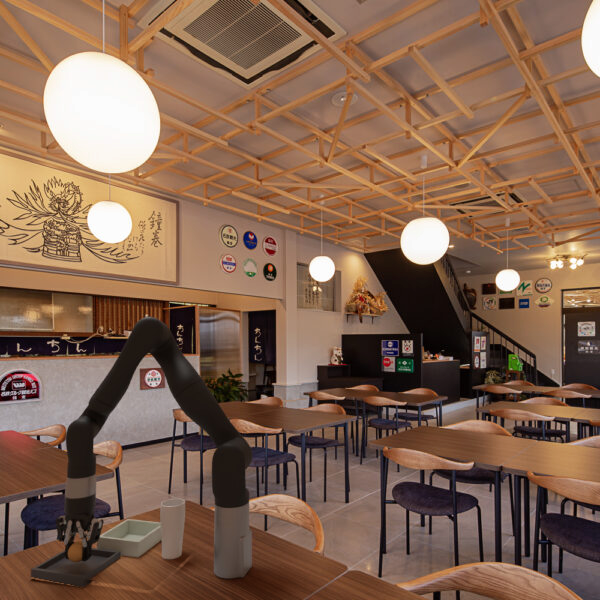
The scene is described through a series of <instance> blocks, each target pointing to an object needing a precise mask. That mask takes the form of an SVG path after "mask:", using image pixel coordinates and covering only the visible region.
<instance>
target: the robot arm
mask: <svg viewBox="0 0 600 600" xmlns="http://www.w3.org/2000/svg"><path fill="white" fill-rule="evenodd" d="M122 347H123V348H122V349H121V351H120V353H119V355H118V357H117V358H116V359H115V362H114V364H113V365H112V366H111V369H110V370H109V371H108V372H107V375H106V376H105V377H104V378H103V380H102V381H101V382H100V384H99V385H98V387H97V388H96V390H95V391H94V393H93V394H92V395H91V397H90V398H89V401H88V405H87V406H86V408H85V409H84V411H82V413H81V415H80V416H79V417H78V418H77V419H75V420H73V421H72V422H71V423H70V424H69V425H68V427H67V428H66V433H65V448H66V455H67V470H66V474H67V475H66V483H65V488H64V489H65V490H64V508H63V509H64V510H63V511H64V513H65V514H64V515H60V516H59V517H57V518H56V519H55V527H56V532H57V537H58V538H57V539H58V541H59V542H63V544H64V546H65V547H64V550H65V556H66V559H69V558H68V550H69V548H70V547H71V545H72V544H74V543H75V542H76V541H74V540H75V539H76V535H77V534H78V535H79V539H81V541H82V543H83V546H84V547H82V561H84V562H85V561H87V560H88V559H89V558H90V557H91V552H92V548H93V547H92V545H94V544H97V542H98V541H99V538H100V535H102V531H103V530H102V529H103V526H104V522H105V521H104V519H102V518H101V519H96V517H95V513H94V512H95V508H96V497H97V496H96V495H97V455H96V453H94V439H95V438H96V437H97V436H98V434H99V433H100V431H101V430H102V429H103V427H104V425H105V424H106V422H107V420H108V418H109V417H110V415H111V414H112V413H113V411H114V410H115V408H116V407H117V406H118V404H119V403H120V402H121V400H122V398H124V396H125V394H126V393H127V390H128V389H129V386H130V384H131V381H132V379H133V377H134V375H135V372H136V370H137V369H138V366H139V365H140V363H142V361H143V359H144V358H145V357H146V356H147V354H150V355H151V356H152V357H153V358H154V360H155V361H156V363H157V364H158V365H159V367H160V368H161V370H162V371H163V374H164V377H165V379H166V383H167V385H168V388H169V390H170V393H171V395H172V397H173V398H174V400H175V401H176V403H177V405H178V406H179V408H180V409H181V410H182V412H183V413H184V415H186V417H187V418H188V419H190V420H191V422H193V423H194V424H196V425H197V426H198V427H200V428H201V429H202V430H203V431H204V432H205V433H206V434H207V435H208V437H210V439H211V441H212V443H213V444H214V446H215V447H216V449H215V450H214V452H213V455H212V458H211V459H212V460H211V489H212V490H211V491H212V494H213V496H214V497H213V498H214V522H213V523H214V526H213V527H214V529H213V530H214V534H213V573H214V575H215V576H216V577H218V578H222V579H236V578H244V577H246V574H247V573H248V572H249V570H250V569H251V568H252V567H253V561H252V559H253V552H252V551H253V530H252V528H251V529H250V490H249V489H248V488H247V486H246V483H247V482H246V470H247V469H248V468H249V466H250V465H251V464H252V460H253V450H252V447H251V445H250V444H249V443H248V441H247V440H246V439H245V438H244V436H243V435H242V434H241V433H240V432H239V430H238V429H237V428H236V427H235V426H234V424H233V423H232V422H231V421H230V419H229V418H228V416H227V414H226V413H225V412H224V409H223V408H222V406H220V404H219V402H218V401H217V399H216V398H215V396H214V394H213V392H212V391H211V390H210V389H209V387H208V385H207V383H205V381H204V380H203V378H202V377H201V375H200V374H199V373H198V371H197V370H196V368H195V367H194V366H193V365H192V363H190V361H189V360H188V359H187V358H186V356H185V355H184V353H183V352H182V350H181V349H180V346H179V345H178V343H177V341H176V339H175V336H174V335H173V333H172V331H171V329H170V327H168V325H167V324H166V323H165V322H164V321H162V320H160V319H159V318H157V317H153V316H145V317H143V318H141V319H139V320H138V321H137V322H136V323H135V325H134V326H133V328H132V329H131V332H130V334H129V336H128V338H127V340H126V342H125V344H124V346H122Z"/></svg>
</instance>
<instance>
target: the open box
mask: <svg viewBox="0 0 600 600" xmlns="http://www.w3.org/2000/svg"><path fill="white" fill-rule="evenodd" d="M160 542H162V541H161V524H160V521H159V522H158V521H149V520H140V519H132V518H127V519H125V520H124V521H122V522H120V523H119V524H116V525H115V526H114V527H111V529H109V530H107V531H105V532H103V533H101V534H100V538H99V541H98V542H96V548H97V549H105V550H112V551H120V552H121V556H124V557H131V558H140V557H141V556H143V554H145V553H146V552H148V551H149V550H150V549H152V548H153V547H154V546H155V545H157V544H158V543H160Z"/></svg>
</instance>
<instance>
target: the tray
mask: <svg viewBox="0 0 600 600" xmlns="http://www.w3.org/2000/svg"><path fill="white" fill-rule="evenodd" d="M121 557H122V555H121V552H120V551H112V550H105V549H97V547H96V548H95V547H92V552H91V557H90V558H89V559H88V560H87V561H85V562H84V561H80V562H77V563H75V562H72V561H70V560H69V559H66V556H65V549H64V550H62V551H60V552H58V553H56V554H55V555H54V556H51V557H50V558H48V559H47V560H45V561H43V562H40V564H38V565H36V566H35V567H32V568H31V569H30V578H31V577H34V578H39V579H44V580H49V581H53V582H59V583H64V584H70V585H74V586H78V587H77V588H80V587H82V588H81V589H84V588H85V587H87V586H88V585H89V584H91V583H92V582H94V580H93V579H92V578H93V577H95V576H97V575H98V574H99V573H100V572H102V571H104V570H106V569H107V568H108V567H109V566H110V565H113V563H115V562H117V561H118V560H119V559H121ZM91 581H92V582H91ZM90 582H91V583H90ZM74 586H73V587H74ZM83 587H84V588H83Z"/></svg>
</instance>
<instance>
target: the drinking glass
mask: <svg viewBox="0 0 600 600" xmlns="http://www.w3.org/2000/svg"><path fill="white" fill-rule="evenodd" d="M159 512H160V515H159V517H160V518H159V519H160V521H159V522H160V524H161V541H160V542H161V557H162V559H165V560H174V559H175V560H176V559H177V558H179V557H181V556H182V554H183V541H184V531H185V519H186V501H185V499H183V498H170V499H166V500H163V501H161V502H160V511H159Z"/></svg>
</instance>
